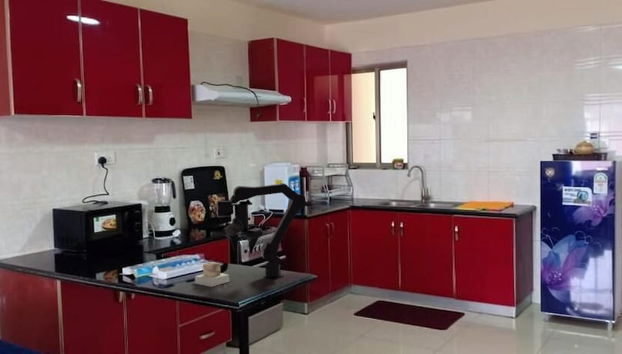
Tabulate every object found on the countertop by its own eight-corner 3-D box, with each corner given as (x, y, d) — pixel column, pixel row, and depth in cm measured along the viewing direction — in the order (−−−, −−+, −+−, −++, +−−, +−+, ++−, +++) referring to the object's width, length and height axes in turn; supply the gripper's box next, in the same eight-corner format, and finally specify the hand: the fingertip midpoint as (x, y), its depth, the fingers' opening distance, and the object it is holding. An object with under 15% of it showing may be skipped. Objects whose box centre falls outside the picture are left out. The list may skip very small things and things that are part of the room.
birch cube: (212, 273, 246) (211, 261, 246) (220, 275, 243) (220, 263, 243) (203, 275, 242) (203, 264, 242) (211, 277, 239) (211, 265, 239)
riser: (212, 278, 250) (212, 271, 250) (229, 281, 244) (228, 274, 244) (195, 283, 242) (194, 276, 242) (211, 286, 236) (211, 279, 236)
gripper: (212, 216, 245) (214, 253, 247) (244, 219, 234) (245, 257, 235) (231, 213, 254) (232, 248, 255) (262, 216, 243) (264, 252, 244)
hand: (242, 251), depth 247 cm, fingers open, 9 cm apart
